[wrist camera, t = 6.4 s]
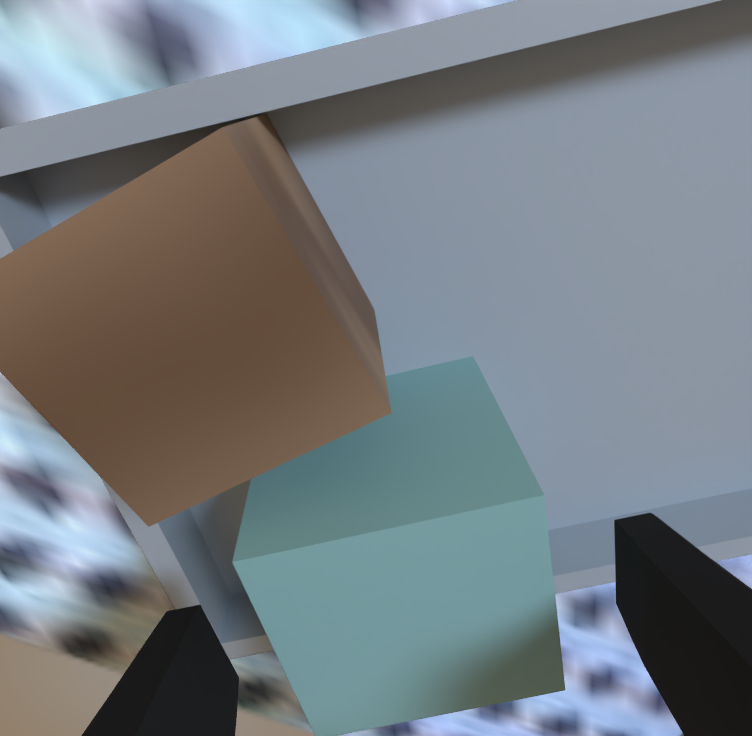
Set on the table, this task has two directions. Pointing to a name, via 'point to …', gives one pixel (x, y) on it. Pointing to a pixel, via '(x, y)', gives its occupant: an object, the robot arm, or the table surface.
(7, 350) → the walnut cube
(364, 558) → the teal block
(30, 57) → the table surface
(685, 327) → the tray
